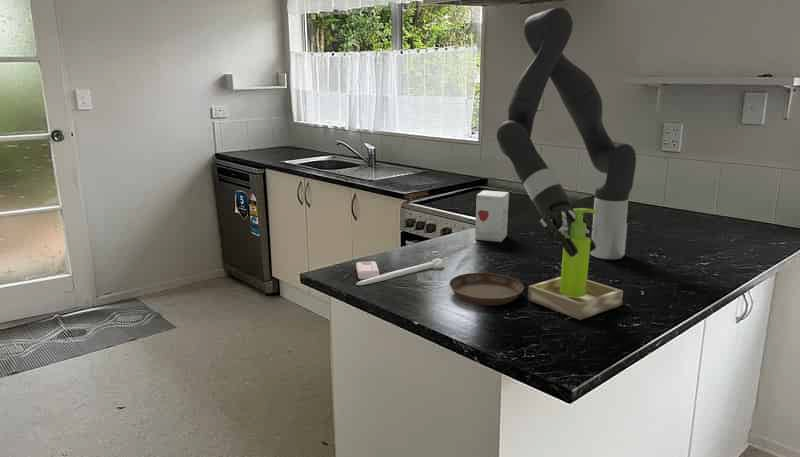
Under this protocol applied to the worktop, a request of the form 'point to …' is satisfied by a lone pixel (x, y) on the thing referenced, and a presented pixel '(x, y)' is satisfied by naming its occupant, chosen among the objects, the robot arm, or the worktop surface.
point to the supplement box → (491, 215)
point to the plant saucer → (486, 288)
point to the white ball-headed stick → (404, 271)
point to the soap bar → (367, 269)
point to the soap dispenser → (576, 258)
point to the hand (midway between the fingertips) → (583, 252)
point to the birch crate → (575, 298)
